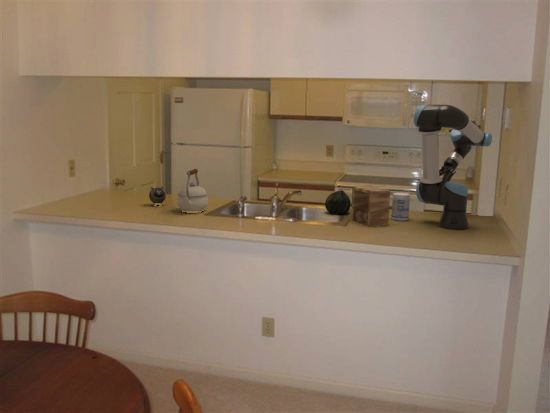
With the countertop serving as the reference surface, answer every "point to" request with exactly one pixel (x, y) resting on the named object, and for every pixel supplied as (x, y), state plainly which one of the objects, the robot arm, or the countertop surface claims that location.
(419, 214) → the countertop surface
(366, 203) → the wooden cube
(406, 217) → the supplement tub
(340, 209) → the squash
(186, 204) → the kettle
